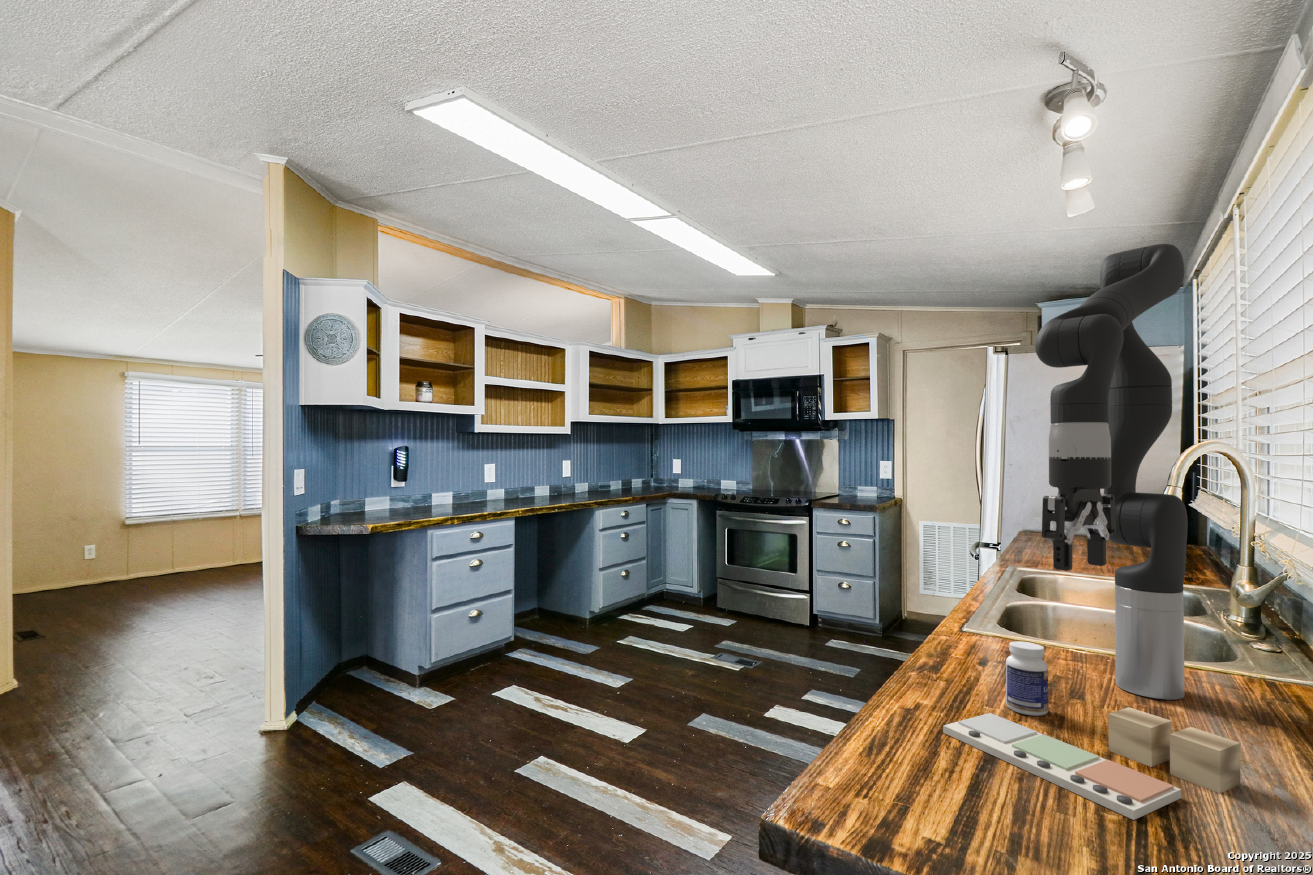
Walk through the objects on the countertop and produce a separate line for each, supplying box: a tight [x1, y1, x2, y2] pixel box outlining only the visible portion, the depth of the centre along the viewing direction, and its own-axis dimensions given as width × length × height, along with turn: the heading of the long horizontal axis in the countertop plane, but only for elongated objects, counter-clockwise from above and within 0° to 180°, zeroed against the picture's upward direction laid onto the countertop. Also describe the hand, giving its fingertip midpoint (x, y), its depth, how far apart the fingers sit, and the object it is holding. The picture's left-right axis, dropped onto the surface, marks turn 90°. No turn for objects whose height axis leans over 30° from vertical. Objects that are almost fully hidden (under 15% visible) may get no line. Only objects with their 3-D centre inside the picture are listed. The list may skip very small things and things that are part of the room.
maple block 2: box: [1169, 726, 1241, 794], centre depth 78 cm, size 5×5×5 cm
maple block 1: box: [1107, 706, 1173, 768], centre depth 84 cm, size 5×5×5 cm
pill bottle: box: [1005, 640, 1049, 717], centre depth 99 cm, size 6×6×10 cm
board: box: [942, 712, 1182, 821], centre depth 82 cm, size 10×24×1 cm, turn 27°
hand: (1080, 567), depth 92 cm, fingers open, 8 cm apart
